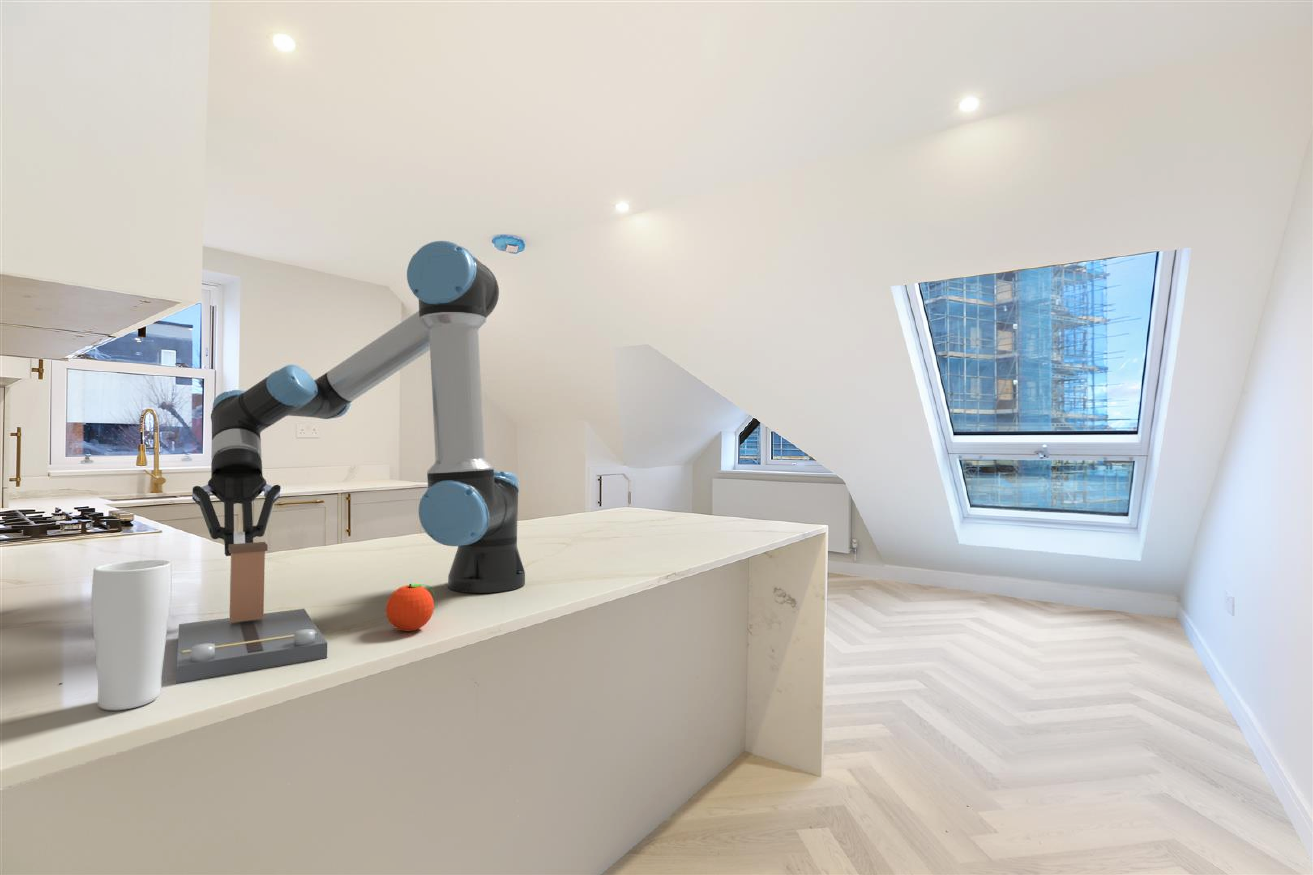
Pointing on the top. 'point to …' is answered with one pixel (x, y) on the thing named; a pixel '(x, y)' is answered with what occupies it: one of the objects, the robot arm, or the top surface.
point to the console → (247, 644)
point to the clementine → (410, 607)
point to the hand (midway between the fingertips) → (239, 570)
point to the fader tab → (247, 581)
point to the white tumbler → (130, 630)
